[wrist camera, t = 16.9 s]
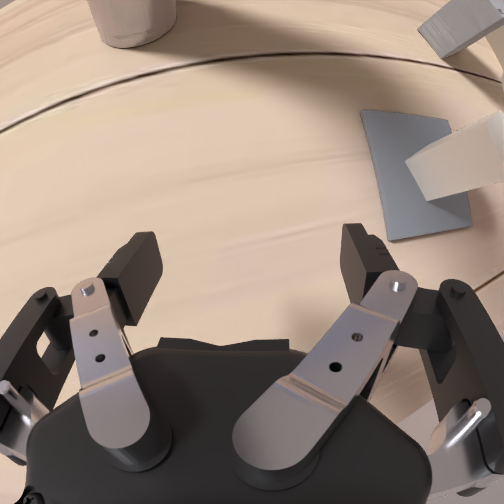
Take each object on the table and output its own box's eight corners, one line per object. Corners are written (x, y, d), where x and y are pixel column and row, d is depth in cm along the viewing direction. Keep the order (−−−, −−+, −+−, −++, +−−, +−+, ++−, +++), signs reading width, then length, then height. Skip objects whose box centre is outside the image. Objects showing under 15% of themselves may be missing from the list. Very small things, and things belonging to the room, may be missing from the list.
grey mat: (359, 112, 28) (363, 109, 28) (443, 122, 31) (447, 120, 30) (387, 240, 28) (392, 240, 28) (468, 226, 31) (472, 225, 30)
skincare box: (436, 25, 33) (487, -19, 17) (461, 56, 33) (518, 17, 17) (414, 29, 31) (470, -25, 16) (442, 64, 32) (507, 17, 16)
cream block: (404, 161, 28) (484, 123, 16) (427, 145, 29) (501, 109, 17) (426, 201, 29) (511, 179, 17) (447, 182, 29) (524, 158, 18)
